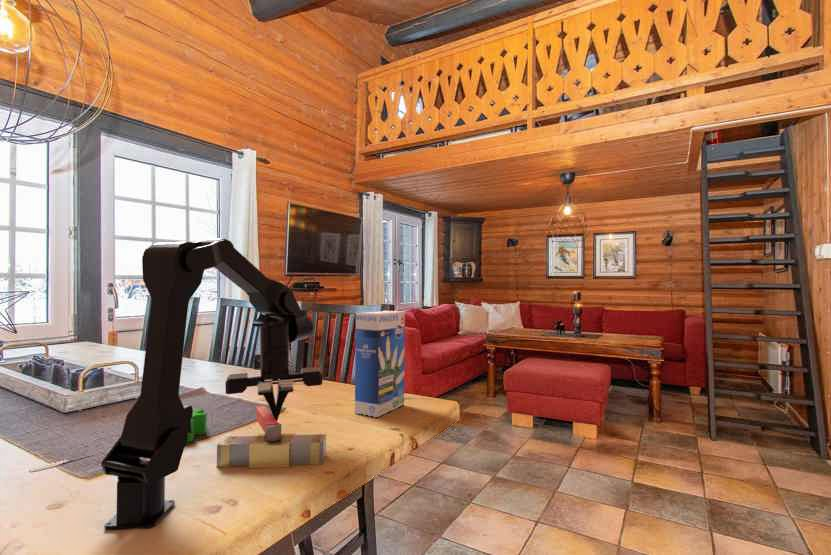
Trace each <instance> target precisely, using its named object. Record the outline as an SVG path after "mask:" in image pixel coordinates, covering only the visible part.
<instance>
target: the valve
mask: <svg viewBox="0 0 831 555" xmlns="http://www.w3.org/2000/svg"><path fill="white" fill-rule="evenodd" d="M326 456H327V434H324V433H321V434H320V433H316V434H297V433H295V432H294V433H293V432H292V433H285V432H284V433H281V439H279V440H276V441H267V440H266V434H265V433H258V434H257V435H242V436H241V435H228V436H224V437H223V438H222V439H221V440H220V441H219V442H218V443H217V444H216V468H230V467H248V468H249V469H268V468H269V469H270V468H271V469H273V468H274V469H275V468H290V466H292V465H293V466H294V465H295V466H298V465H311V466H312V465H313V466H315V465H323V464H324V463H325V460H326Z"/></svg>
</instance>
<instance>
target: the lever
mask: <svg viewBox="0 0 831 555" xmlns="http://www.w3.org/2000/svg"><path fill="white" fill-rule="evenodd" d="M255 420H256V421H257V423H258V424H259V426H260V427H261V429H262V431H263V432H264V434H266V440H267V441H276V440H279V439H281V434H282V423H280V422H278V420H277V421H276V420H275V418H274V417H273V414H272V412H270V411H269V409H268V408H267V407H266V406H265V405H263V406H256V407H255Z"/></svg>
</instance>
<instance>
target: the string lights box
mask: <svg viewBox="0 0 831 555" xmlns="http://www.w3.org/2000/svg"><path fill="white" fill-rule="evenodd" d="M405 318H406V312H405V310H403V311H400V310H381V311H365V312H356V313H355V355H354V357H355V359H354V360H355V361H354V362H355V364H354V365H355V369H354V372H355V373H354V414H357V415H361V414H363V415H362V416H366V415H368V416H367V417H371V416H373V417H372V418H376V417H378V418H379V416H380V417H381V415H382V416H384V415H386V414H388V413H387V412H389V411H391V410H393V409H395V410H397V409H399V408H398V407H400V406H402V405H404V406H405V349H406V348H405V343H406V342H405V338H406V336H405V335H406V333H405V328H406V326H405V325H406V324H405V323H406V319H405ZM402 407H403V406H402ZM396 408H397V409H396ZM400 408H401V407H400ZM393 411H394V410H393ZM391 412H392V411H391ZM385 413H386V414H385ZM389 413H390V412H389ZM383 414H384V415H383Z"/></svg>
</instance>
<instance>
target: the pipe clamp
mask: <svg viewBox="0 0 831 555" xmlns="http://www.w3.org/2000/svg"><path fill="white" fill-rule="evenodd" d="M204 411H205V409H204V408H197V409H196V410H193V414H192V418H191V431H192V433H191V434H189V433H188V438H187V441H192V440H193V441H194V436H197V435H196V434H199V435H205V434H204V433H206V434H207V416H208V415H207V413H206V412H204ZM193 441H192V442H193Z"/></svg>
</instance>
